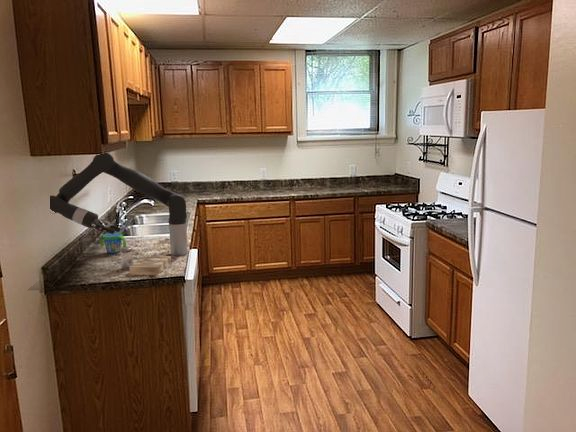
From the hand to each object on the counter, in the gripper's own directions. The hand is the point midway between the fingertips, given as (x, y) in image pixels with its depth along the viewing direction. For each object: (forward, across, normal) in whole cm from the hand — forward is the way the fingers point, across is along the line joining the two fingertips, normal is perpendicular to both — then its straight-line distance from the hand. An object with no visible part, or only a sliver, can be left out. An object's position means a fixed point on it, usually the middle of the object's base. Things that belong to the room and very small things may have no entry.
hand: (117, 231), depth 222 cm
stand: (+22, +3, +12) cm, 25 cm away
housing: (+10, +6, +17) cm, 20 cm away
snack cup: (-7, +38, +21) cm, 44 cm away
